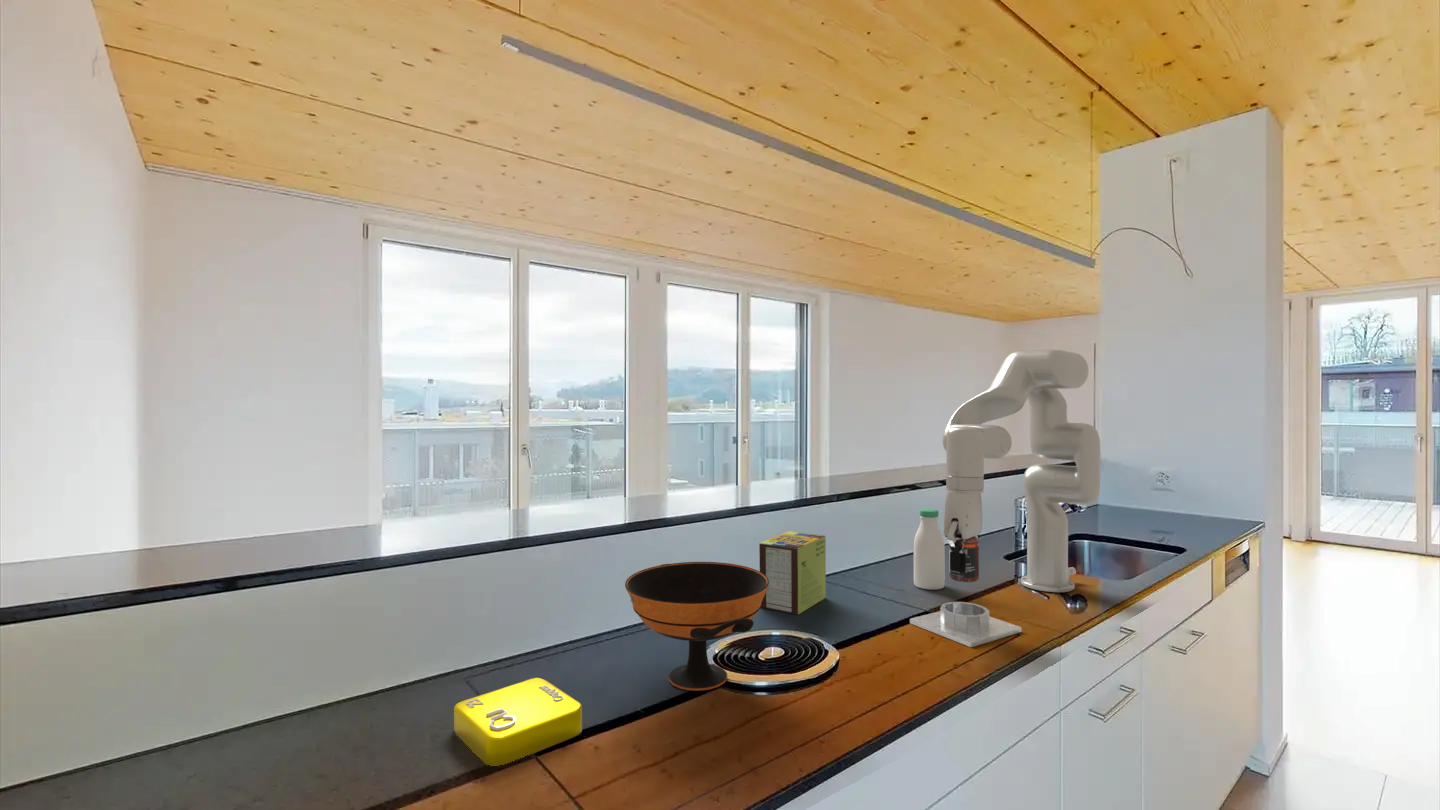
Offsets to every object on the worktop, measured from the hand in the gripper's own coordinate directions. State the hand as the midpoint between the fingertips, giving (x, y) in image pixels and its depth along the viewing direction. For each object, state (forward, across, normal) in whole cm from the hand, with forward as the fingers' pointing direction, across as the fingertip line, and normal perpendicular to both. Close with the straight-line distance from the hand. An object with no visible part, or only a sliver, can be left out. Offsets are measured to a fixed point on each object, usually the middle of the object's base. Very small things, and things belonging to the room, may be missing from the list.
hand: (964, 567), depth 142 cm
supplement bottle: (+3, 0, 0) cm, 3 cm away
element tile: (+15, +87, -33) cm, 94 cm away
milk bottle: (+13, -24, -19) cm, 33 cm away
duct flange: (+13, 0, 0) cm, 13 cm away
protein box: (+13, +10, -38) cm, 41 cm away
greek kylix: (+14, +56, -26) cm, 63 cm away
